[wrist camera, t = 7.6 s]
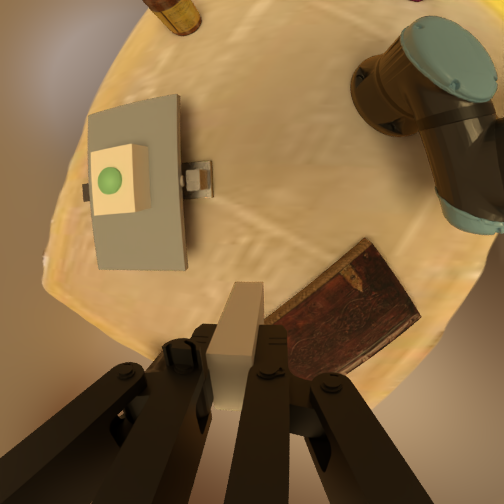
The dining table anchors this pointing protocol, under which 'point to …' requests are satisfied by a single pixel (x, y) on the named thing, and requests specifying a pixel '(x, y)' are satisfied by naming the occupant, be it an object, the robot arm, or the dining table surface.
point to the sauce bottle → (176, 15)
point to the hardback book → (345, 315)
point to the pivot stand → (187, 181)
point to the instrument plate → (167, 198)
